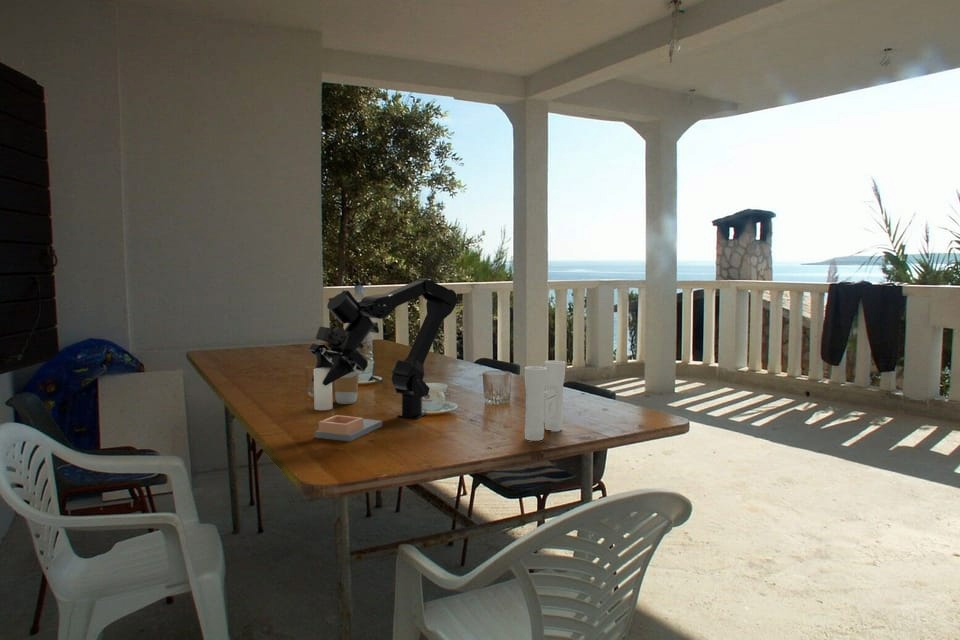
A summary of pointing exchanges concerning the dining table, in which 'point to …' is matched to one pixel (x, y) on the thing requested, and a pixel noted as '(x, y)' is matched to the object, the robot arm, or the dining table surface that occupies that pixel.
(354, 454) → the dining table surface
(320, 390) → the candle
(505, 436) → the dining table surface
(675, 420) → the dining table surface
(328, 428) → the candle stand
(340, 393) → the coffee cup
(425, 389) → the robot arm
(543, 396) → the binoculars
